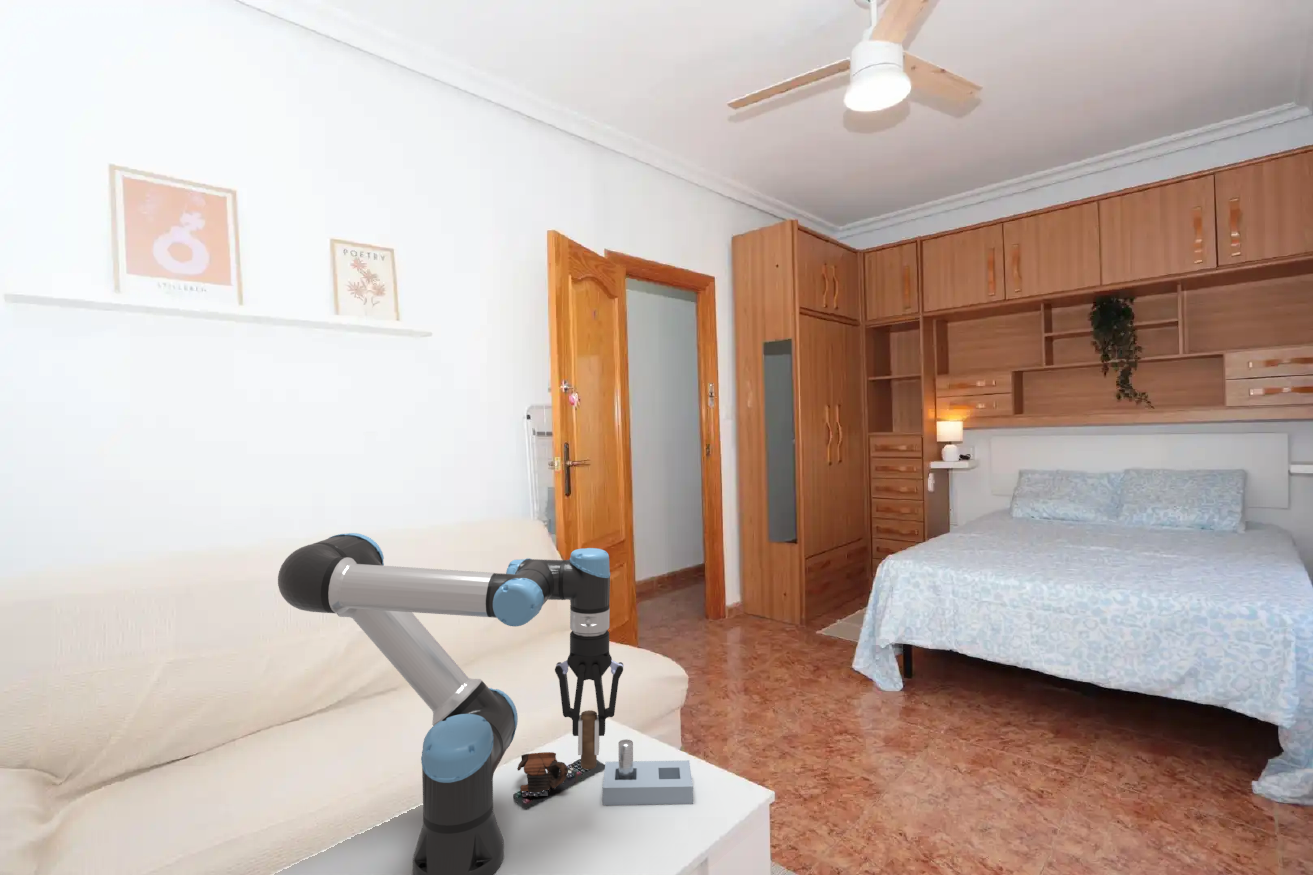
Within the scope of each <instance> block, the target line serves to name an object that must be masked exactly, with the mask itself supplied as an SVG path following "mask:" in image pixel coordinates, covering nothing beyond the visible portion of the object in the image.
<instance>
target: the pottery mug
mask: <svg viewBox="0 0 1313 875" xmlns="http://www.w3.org/2000/svg"><path fill="white" fill-rule="evenodd" d="M520 758H521V761H520V762H519V763H518V766H517V768H516V769H517V771H521V769H523V772H524V773H525V775H526V780H527V783H526V784H522V785H521V786H520V793H521V792H522V791H528V792H540V791H543V790H548V789H550V790H551V788H552V789H553V788H555V787H557V786H558V787H559V786H560V785H562V784H563V783H564V782H565V780H566V779H567V776H568V773H569V771H568V767H567V765H566V763H565V762H562V761H558V760H557V753H556V752H554V751H551V752H549V751H548V752H547V751H546V752H534V753H533V752H532V753H526V754H525V753H524V754H522V755H521V757H520ZM558 787H557V788H558Z"/></svg>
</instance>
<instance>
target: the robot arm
mask: <svg viewBox="0 0 1313 875" xmlns="http://www.w3.org/2000/svg"><path fill="white" fill-rule="evenodd" d="M383 553H384V552H383V551H382V549H381V547H380V546H379V545H378V544H377V542H376V541H375V540H374V539H372V537H369V536H367V535H365V534H361V533H357V532H349V533H347V532H346V533H339V534H334V535H332V536H329V537H328V538H326V539H323V540H320V541H317V542H314V543H311V544H308V545H304V546H302V547H299V548H298V549H295V550H294V551H292V552H291V553H290V554H289V555H288V556H287V557H286V558H285V560H284V561H283V562H282V564H281V566H280V569H279V571H278V574H277V586H278V590H279V593H280V594H281V596H282V598H283V599H284V600H285V601H286V602H287V603H288V604H289V605H290V606H292V607H293V608H296V609H298V610H301V611H305V612H311V613H323V614H336V615H337V616H338V617H340V618H351V619H353V621H354V622H355V623H356V624H357V625H358V626H359V628H360V629H361V630H362V631H363V633H365V635H367V637H368V639H369V640H371V642H373V644H374V645H375V646H376V647H377V649H379V651H380V652H381V653H382V655H384V657H385V658H386V659H387V660H388V661H389V662H390V664H391V665H392V666H393V667H394V668H395V669H396V671H397V672H399V674H400V675H401V676H402V677H403V679H404V680H405V681H406V682H407V683H408V685H409V686H410V687H411V688H412V689H413V690H414V692H415V693H417V695H418V696H419V697H420V698H421V700H422V701H423V702H424V703H425V704H426V706H427V707H428V708H429V709H431V711H432V724H431V725H432V727H430V729H429V730H428V731H427V733H426V734H425V735H424V736H425V737H424V738H423V741H422V742H423V743H422V751H421V756H420V757H421V758H420V763H421V771H422V772H421V774H422V775H421V777H422V812H423V813H422V814H423V816H422V818H423V819H422V826H421V830H420V832H419V836H418V840H417V842H416V846H415V849H414V851H413V857H412V875H494V874H495V873H496V872H497V871H498V869H499V868H500V867H501V865H502V863H503V860H504V856H505V850H504V849H505V846H504V845H505V844H504V843H505V842H504V838H503V837H504V836H503V835H502V832H501V829H500V826H499V824H498V820H497V818H496V816H495V812H494V783H493V782H494V773H495V772H496V769H497V768H498V766H499V764H500V762H502V759H503V756H504V755H505V753H506V751H507V750H508V749H509V747H510V746H511V743H512V742H513V741H514V738H515V735H516V734H515V733H516V731H517V727H518V722H519V720H518V710H517V708H516V705H515V703H514V701H513V700H512V698H511V697H510V696H509V695H508V694H507V693H505V692H504V691H503V690H501V689H498V688H496V689H494V688H492V687H489V686H488V685H486V684H487V683H485V682H484V681H483V680H482V679H481V678H470V677H469V676H468V675H467V674H466V673H465V672H464V671H463V669H462V668H461V667H460V666H459V664H457V662H455V661H454V659H453V658H452V656H450V655H449V653H448V652H447V651H446V649H445V648H443V646H442V645H441V644H440V643H439V642H438V641H437V639H435V637H434V636H433V635H432V634H431V632H430V631H429V630H428V629H427V628H426V627H425V626H424V624H422V622H421V621H420V620H419V619H418V618H417V616H415V614H414V613H418V614H433V615H450V616H463V617H464V616H465V617H476V618H477V617H478V618H479V617H480V618H481V617H482V618H493V619H494V618H496V619H497V620H498V621H500V622H501V623H502V624H504V625H506V626H508V627H521V626H524V625H526V624H528V623H529V622H530V621H533V619H534V618H535V617H536V616H538V614H539V613H540V611H541V610H542V607H543V606H544V605H545V603H546V602H547V601H550V600H553V601H556V600H557V601H569V603H570V605H569V606H570V607H569V608H570V609H569V610H570V611H569V612H570V614H569V616H570V617H569V618H570V620H569V621H570V622H569V629H570V630H571V632H570V633H569V654H568V657H567V660H564V661H563V662H560V661H559V662H557V663H556V664H555V668H554V673H555V675H556V676H557V678H558V684H559V692H560V700H561V710H562V716H563V717H564V718H570V719H571V721H572V732H571V734H572V736H573V737H577V756H581V755H582V719H581V714H580V712H581V707H582V698H583V693H584V691H583V690H584V682H585V681H587V680H590V681H593V683H594V684H593V685H594V689H595V690H594V691H595V698H596V699H595V700H596V707H597V719H596V720H595V755H597V756H599V754H600V737H603V736H605V734H606V719H608V718H613V717H614V716H615V712H616V704H617V696H618V688H619V680H620V678H621V676H622V674H623V671H624V663H623V662H616V661H615V660H613V659H612V656H611V654H610V632H609V629H610V612H611V611H610V600H611V598H610V597H611V596H610V595H611V590H610V589H611V571H610V556H609V553H608V552H607V551H606V550H604V549H602V548H596V547H587V548H578V549H577V548H576V549H574V550H573V551H572V552H571V553H570V557H569V559H564V560H563V559H538V558H536V559H535V558H534V559H533V558H529V557H527V558H524V559H523V558H522V559H513V560H512V561H510V562H509V564H508V566H507V568H506V571H505V573H498V572H497V573H496V572H485V571H470V570H456V569H455V570H453V569H441V568H440V569H439V568H425V567H424V568H423V567H413V566H412V567H409V566H394V565H385V563H384V559H385V557H384V554H383ZM569 668H570V670H571V671H572V672H573V674H574V675H575V676H576V677H577V679H576V687H575V694H574V703H573V708H572V707H571V699H570V693H569V692H570V691H569V682H568V674H567V673H568V671H569ZM609 668H610V673H611V674H612V679H611V680H612V681H611V687H610V695H609V703H608V704H609V705H608V707H606V705H605V704H606V703H605V697H604V695H605V694H604V687H603V676H604V675H605V673H606V672H607V670H608V669H609Z"/></svg>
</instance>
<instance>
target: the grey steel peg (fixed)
mask: <svg viewBox="0 0 1313 875" xmlns="http://www.w3.org/2000/svg"><path fill="white" fill-rule="evenodd" d="M633 761H634V742H633V740H632V739H631V740H630V739H628V738H627V739H622V740H619V741H618V762H619V780H633Z"/></svg>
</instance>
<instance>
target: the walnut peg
mask: <svg viewBox="0 0 1313 875" xmlns="http://www.w3.org/2000/svg"><path fill="white" fill-rule="evenodd" d="M580 715H581V719H582V755H580V767H581V768H582V769H584V770H592V769H593V770H594V769H595V768H596V767H597V765H598V764H597V763H598V762H597V761H598V760H597V759H598V757H597V756H598V755H595V720H596V719H597V715H598V712H597V711H595V710H590V709H589V710H584V711H582V712H581V714H580Z"/></svg>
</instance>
